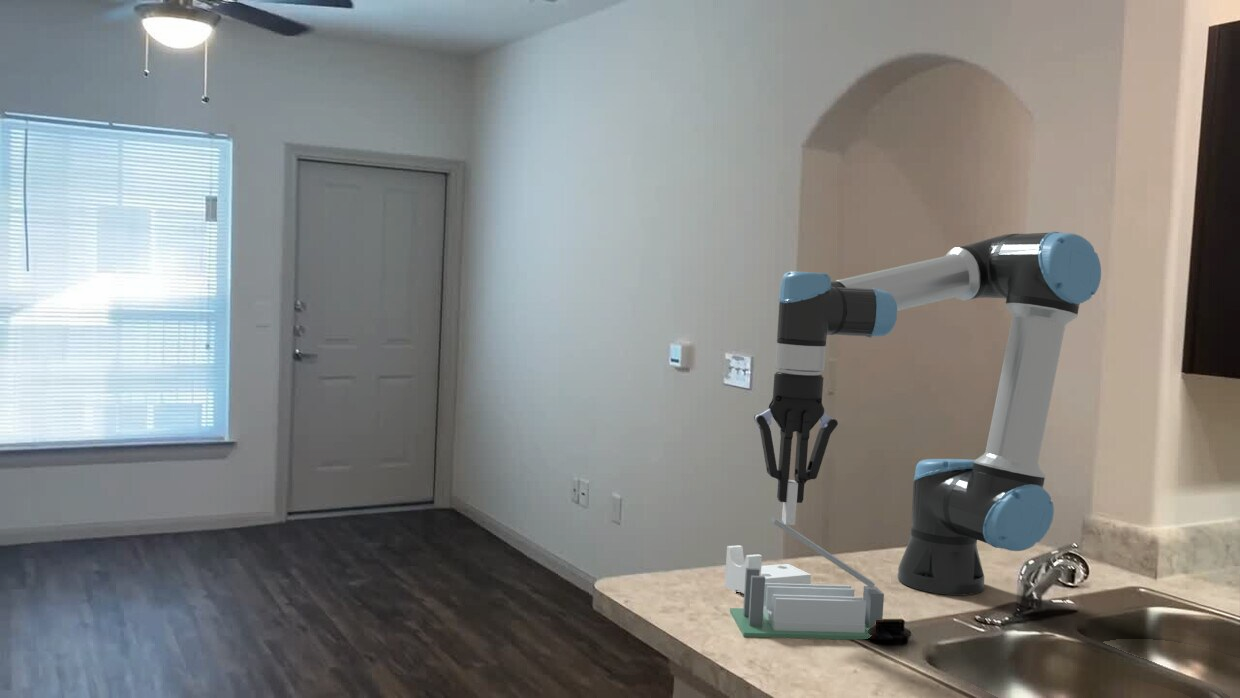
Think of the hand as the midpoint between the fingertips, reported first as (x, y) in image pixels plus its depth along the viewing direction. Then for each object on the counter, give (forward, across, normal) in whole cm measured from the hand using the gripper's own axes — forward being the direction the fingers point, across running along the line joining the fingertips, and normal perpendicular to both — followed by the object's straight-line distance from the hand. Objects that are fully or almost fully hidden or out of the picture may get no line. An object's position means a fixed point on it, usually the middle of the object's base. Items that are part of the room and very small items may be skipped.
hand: (788, 522), depth 166 cm
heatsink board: (+16, -5, 0) cm, 17 cm away
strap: (+5, -6, 0) cm, 7 cm away
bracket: (+17, -2, -19) cm, 25 cm away
